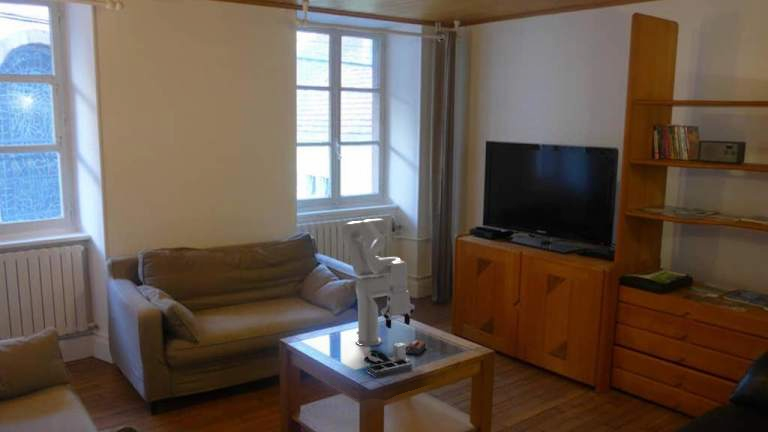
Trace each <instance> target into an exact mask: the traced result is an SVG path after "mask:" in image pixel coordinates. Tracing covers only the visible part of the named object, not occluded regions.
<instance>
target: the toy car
mask: <svg viewBox="0 0 768 432" xmlns="http://www.w3.org/2000/svg"><path fill="white" fill-rule="evenodd" d="M390 358H391V357H389V356H387V355H386V354H385V353H383V352H381V351H379V350H376V349H371V350H368V351H367V352H365V353H364V358H363V359H364V360H363V361H364V362H365V363H366V362H367V363H366V364H368V362H369V363H370V362H372V363H375V364H379V363H384V362H388V361H391V360H390Z"/></svg>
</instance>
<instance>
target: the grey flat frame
mask: <svg viewBox="0 0 768 432" xmlns="http://www.w3.org/2000/svg"><path fill="white" fill-rule="evenodd" d="M412 366H413V365H412V363H411V362H410V361H408V362H407V361H405V360H403V359H402V358H401V359H397V360H393V361H388V362H384V363H379V364H377V363H375V364H371V365H367V366H366V372H367V371H368V372H370V373H371V374H373V375H374V376H376V377H378V378H380V377H379V376H382V377H385V375H386V376H389V374H390V375H394V374H397V373H401V372H402V373H403V372H406V371H411V370H412V369H413V367H412ZM410 369H411V370H410ZM368 372H367V373H368ZM371 374H370V375H371ZM373 375H372V376H373ZM374 376H373V377H374ZM376 377H375V378H376Z"/></svg>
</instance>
